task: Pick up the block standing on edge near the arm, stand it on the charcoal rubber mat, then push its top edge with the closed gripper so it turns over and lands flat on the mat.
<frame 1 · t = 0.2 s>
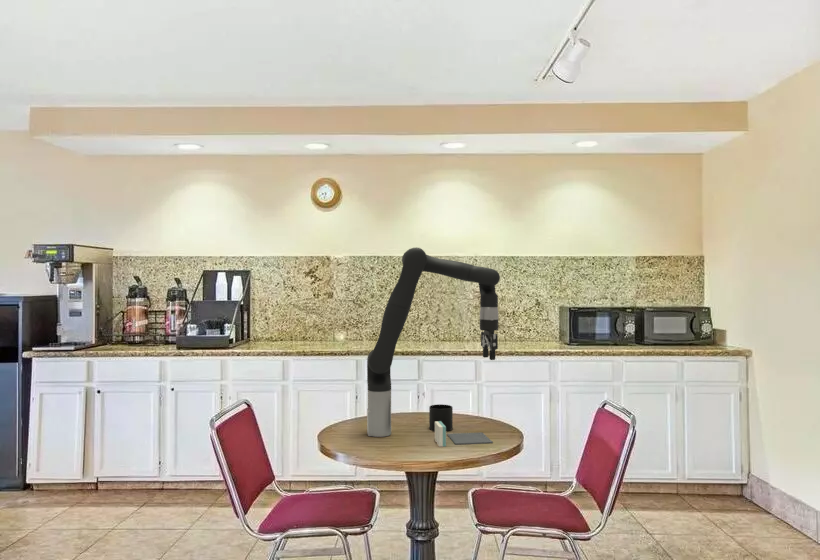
hand: (489, 358, 223), 29 cm above the table, fingers open, 8 cm apart
block: (440, 443, 203), on the table
mat: (469, 439, 208), on the table
mug: (439, 428, 225), on the table
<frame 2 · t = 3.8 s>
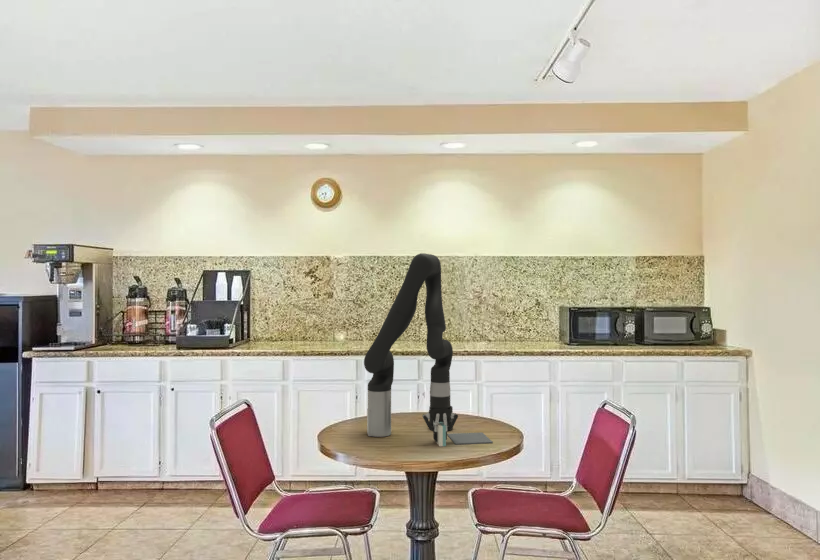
hand: (440, 441, 203), 1 cm above the table, fingers closed on block, 2 cm apart
block: (440, 443, 203), on the table, touching gripper
everything else where it was.
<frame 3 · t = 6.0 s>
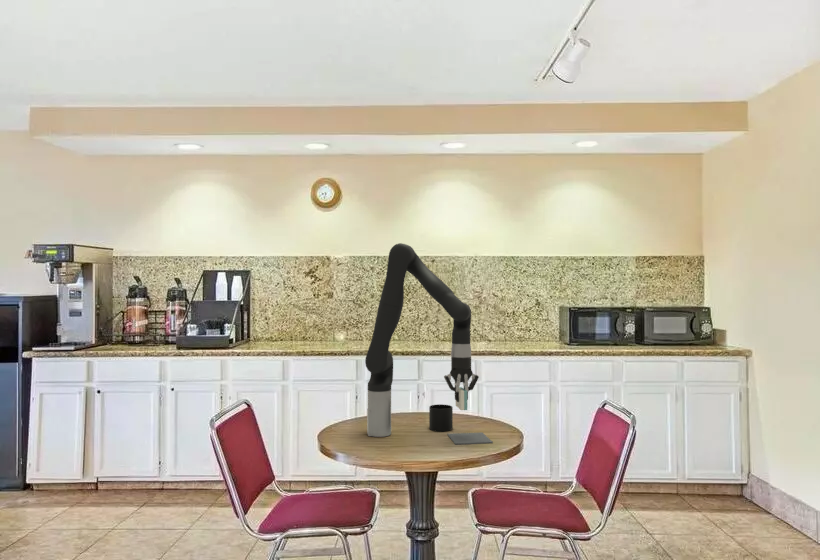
hand: (461, 401, 208), 14 cm above the table, fingers closed on block
block: (461, 407, 208), point 12 cm above the table, touching gripper
everything else where it was.
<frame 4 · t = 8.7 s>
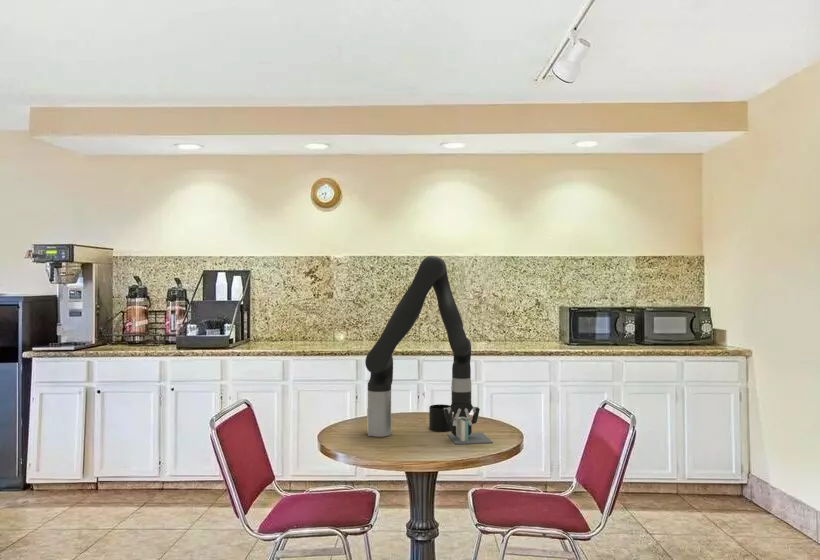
hand: (461, 434, 208), 2 cm above the table, fingers open, 4 cm apart
block: (462, 437, 208), resting on mat
everything else where it was.
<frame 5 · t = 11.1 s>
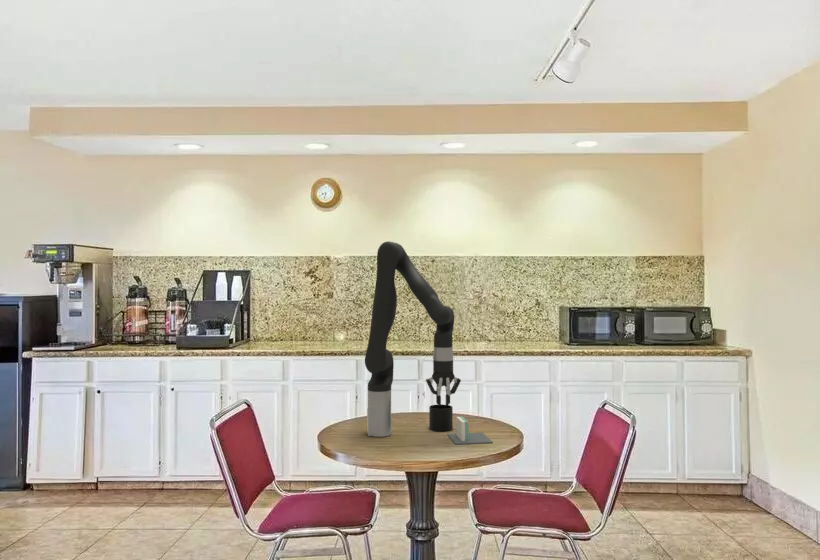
hand: (443, 404, 207), 13 cm above the table, fingers closed
nothing on the table moved.
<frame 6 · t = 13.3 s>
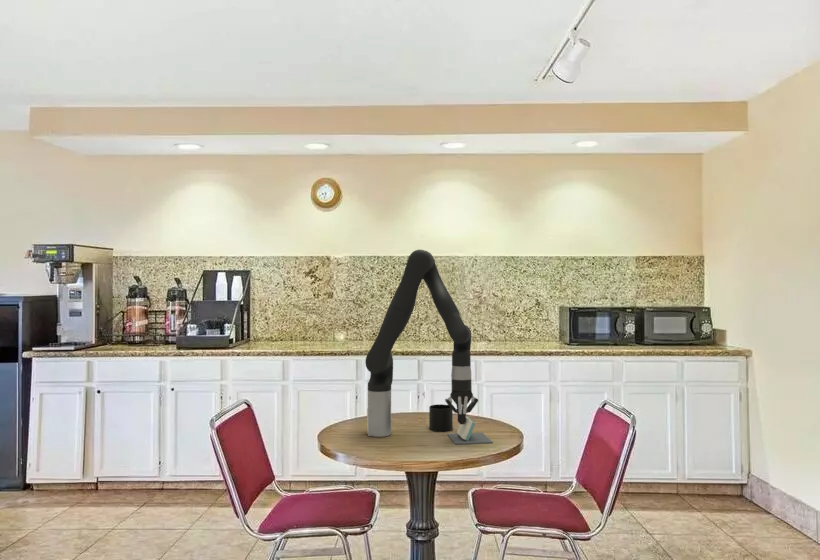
hand: (461, 423, 208), 6 cm above the table, fingers closed
block: (462, 436, 208), point 1 cm above the table, tilted 24°, touching mat
everything else where it was.
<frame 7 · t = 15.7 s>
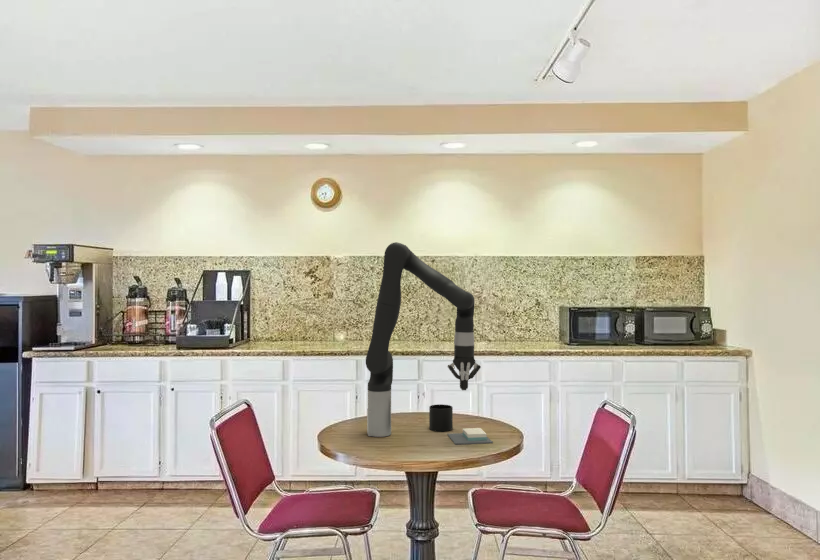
hand: (463, 389, 209), 18 cm above the table, fingers closed
block: (465, 434, 208), point 2 cm above the table, tilted 90°, touching mat
everything else where it was.
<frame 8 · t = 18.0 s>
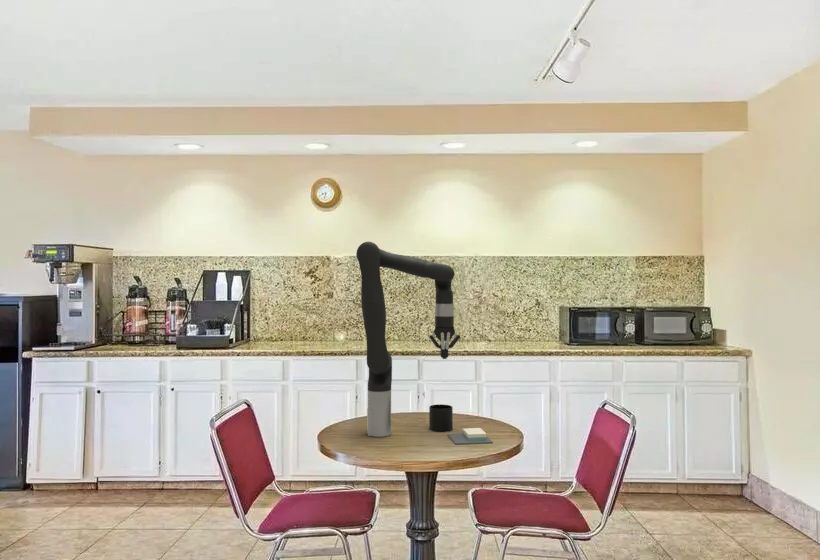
hand: (444, 358, 220), 29 cm above the table, fingers closed
nothing on the table moved.
at the end: block tilted 90°; block inside the target area on the mat (2.1 cm from its centre), point 1.7 cm above the mat's base; the gripper is holding nothing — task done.
